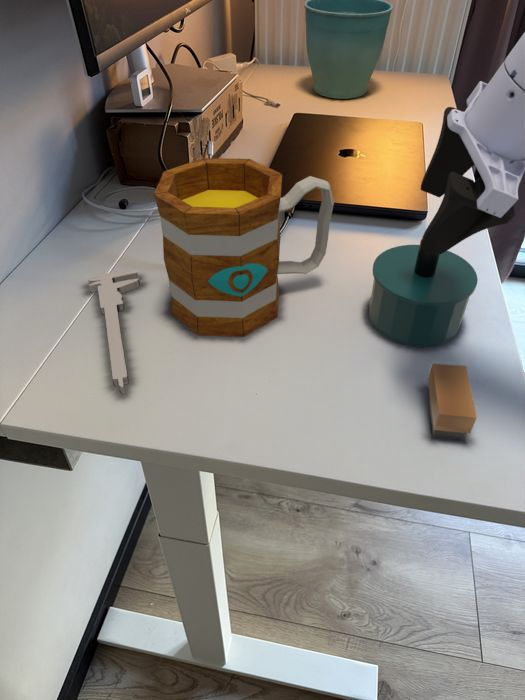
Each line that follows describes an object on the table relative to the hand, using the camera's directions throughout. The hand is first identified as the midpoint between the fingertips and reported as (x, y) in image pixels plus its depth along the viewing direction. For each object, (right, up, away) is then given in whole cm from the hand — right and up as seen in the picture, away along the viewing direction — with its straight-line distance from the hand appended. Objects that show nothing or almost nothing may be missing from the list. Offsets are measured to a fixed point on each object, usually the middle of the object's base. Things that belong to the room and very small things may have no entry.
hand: (430, 218), depth 49 cm
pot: (+2, -8, +14) cm, 16 cm away
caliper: (-30, -9, +12) cm, 33 cm away
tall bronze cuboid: (+2, -18, +3) cm, 18 cm away
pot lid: (+2, -4, +10) cm, 11 cm away
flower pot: (+2, +47, +74) cm, 87 cm away
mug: (-17, -6, +17) cm, 24 cm away
